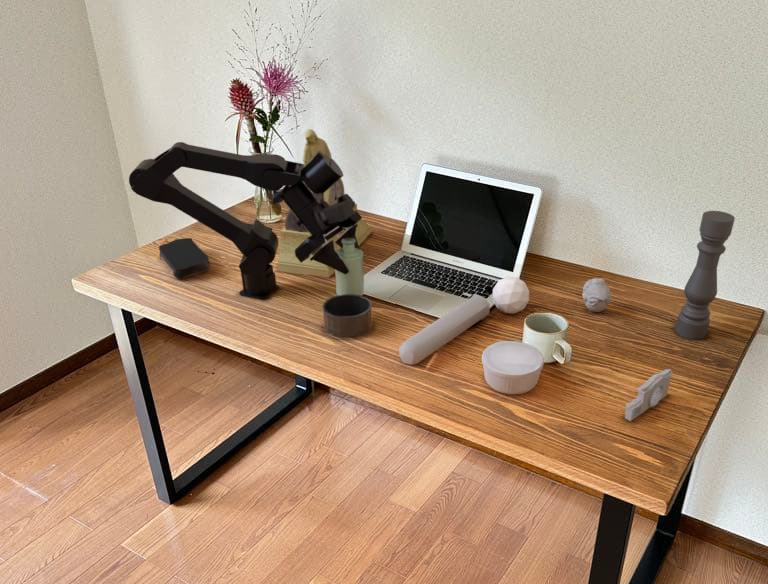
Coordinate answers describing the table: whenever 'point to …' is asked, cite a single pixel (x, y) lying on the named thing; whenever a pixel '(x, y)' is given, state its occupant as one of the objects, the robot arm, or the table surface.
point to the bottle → (350, 269)
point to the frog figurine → (596, 294)
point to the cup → (347, 315)
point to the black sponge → (184, 258)
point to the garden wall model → (649, 394)
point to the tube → (444, 330)
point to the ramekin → (512, 366)
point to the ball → (510, 295)
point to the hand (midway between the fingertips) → (355, 267)
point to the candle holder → (704, 275)
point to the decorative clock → (297, 235)
